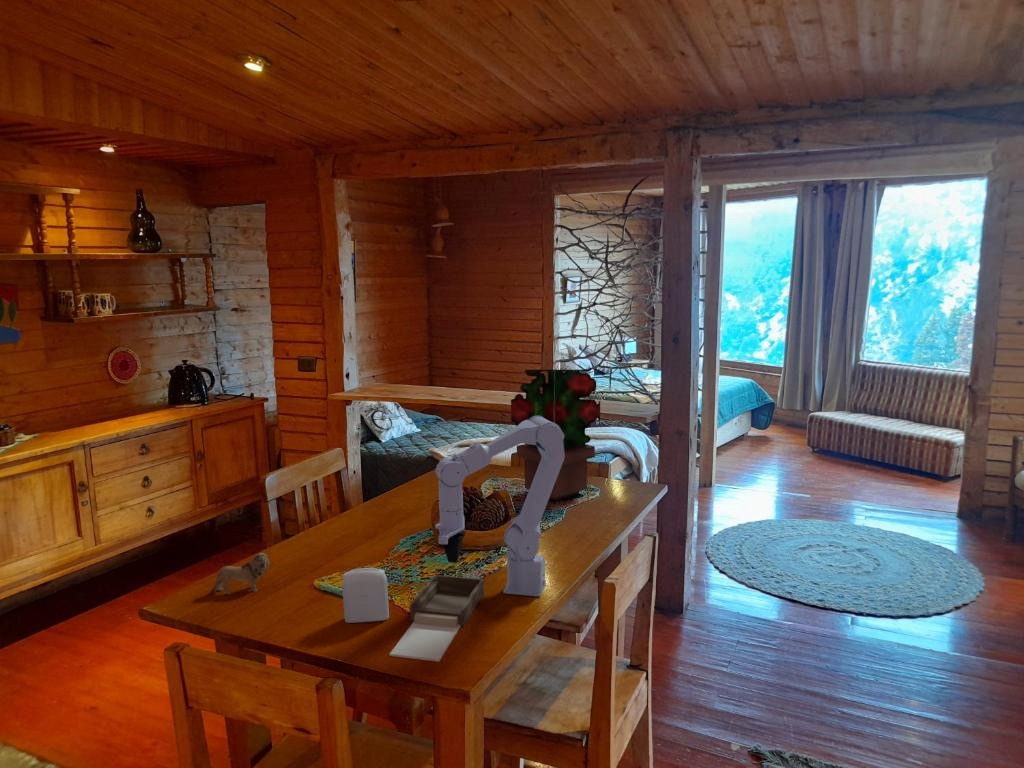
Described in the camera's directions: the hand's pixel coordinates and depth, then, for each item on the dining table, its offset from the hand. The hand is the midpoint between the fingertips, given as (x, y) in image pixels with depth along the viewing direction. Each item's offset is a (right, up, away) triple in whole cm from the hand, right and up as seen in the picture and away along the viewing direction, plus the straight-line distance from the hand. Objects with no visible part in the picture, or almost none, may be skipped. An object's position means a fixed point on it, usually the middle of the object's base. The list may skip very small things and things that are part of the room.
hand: (453, 561), depth 177 cm
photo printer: (-20, -12, -7) cm, 24 cm away
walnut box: (-1, -10, -2) cm, 11 cm away
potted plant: (+30, +4, +83) cm, 89 cm away
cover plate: (-4, -14, -18) cm, 23 cm away
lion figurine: (-55, -10, +9) cm, 56 cm away
